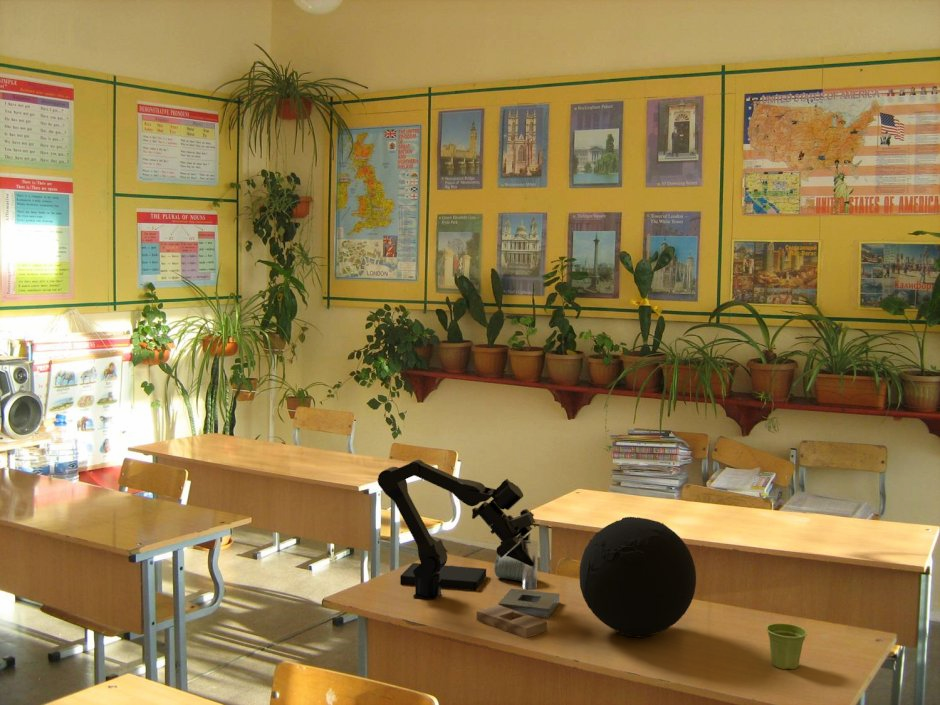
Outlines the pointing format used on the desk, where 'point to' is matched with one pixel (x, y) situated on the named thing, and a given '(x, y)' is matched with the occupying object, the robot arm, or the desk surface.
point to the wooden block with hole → (511, 621)
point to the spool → (509, 568)
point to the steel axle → (530, 571)
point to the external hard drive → (450, 577)
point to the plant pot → (786, 644)
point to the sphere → (637, 576)
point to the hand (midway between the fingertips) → (534, 563)
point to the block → (531, 602)
